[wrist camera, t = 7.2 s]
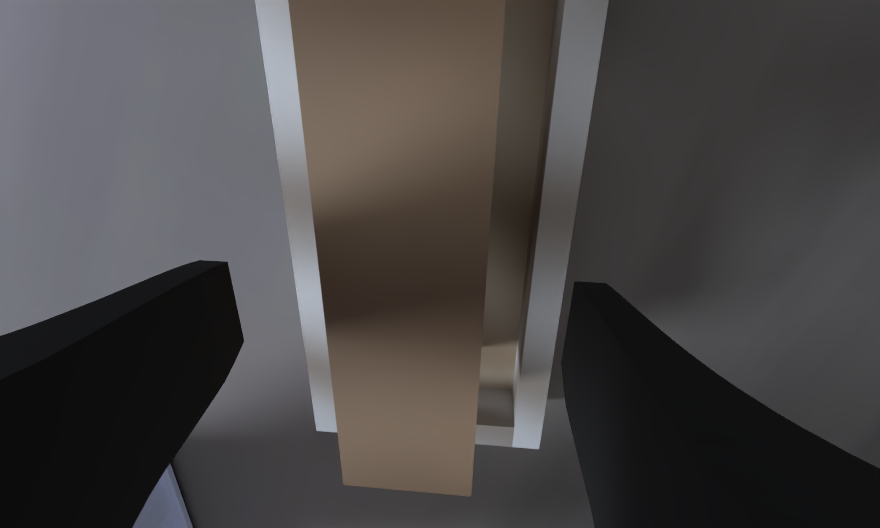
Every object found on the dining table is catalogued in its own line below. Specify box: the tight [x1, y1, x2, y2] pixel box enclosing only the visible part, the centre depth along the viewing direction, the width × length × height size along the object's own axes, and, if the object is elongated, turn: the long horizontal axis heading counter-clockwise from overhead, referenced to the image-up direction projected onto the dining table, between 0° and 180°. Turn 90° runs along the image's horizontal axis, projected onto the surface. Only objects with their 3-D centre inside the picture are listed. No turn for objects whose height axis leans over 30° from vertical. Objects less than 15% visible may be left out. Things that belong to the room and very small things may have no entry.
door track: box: [255, 0, 609, 449], centre depth 16 cm, size 18×9×3 cm, turn 179°
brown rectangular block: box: [288, 0, 506, 497], centre depth 13 cm, size 12×4×6 cm, turn 179°
